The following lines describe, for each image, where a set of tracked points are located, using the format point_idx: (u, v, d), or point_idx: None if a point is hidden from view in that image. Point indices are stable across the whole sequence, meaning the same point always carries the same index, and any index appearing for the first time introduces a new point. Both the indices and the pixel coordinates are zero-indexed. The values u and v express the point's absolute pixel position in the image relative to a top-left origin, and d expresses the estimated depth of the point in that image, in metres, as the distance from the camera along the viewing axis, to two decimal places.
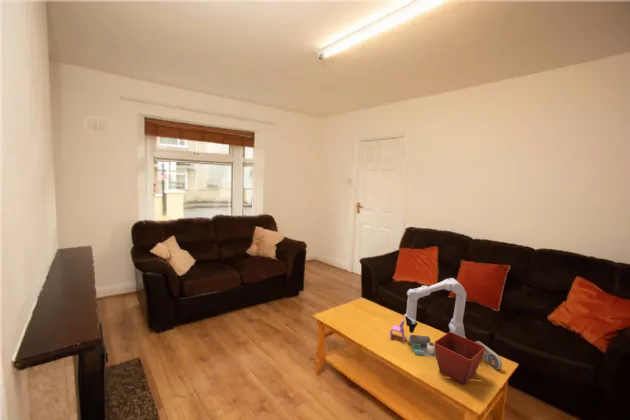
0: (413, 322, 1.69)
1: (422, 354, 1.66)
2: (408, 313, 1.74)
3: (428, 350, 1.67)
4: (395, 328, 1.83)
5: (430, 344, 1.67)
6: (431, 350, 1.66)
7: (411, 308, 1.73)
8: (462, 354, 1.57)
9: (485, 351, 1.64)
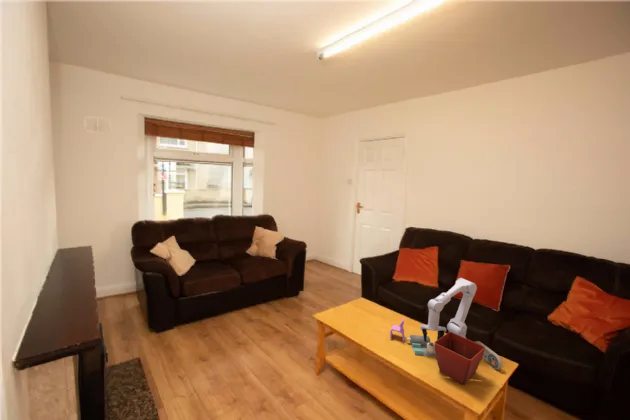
0: (420, 327, 1.68)
1: (422, 354, 1.66)
2: None
3: (428, 350, 1.67)
4: (395, 328, 1.83)
5: (430, 344, 1.67)
6: (431, 350, 1.66)
7: (436, 320, 1.64)
8: (462, 354, 1.57)
9: (485, 351, 1.64)
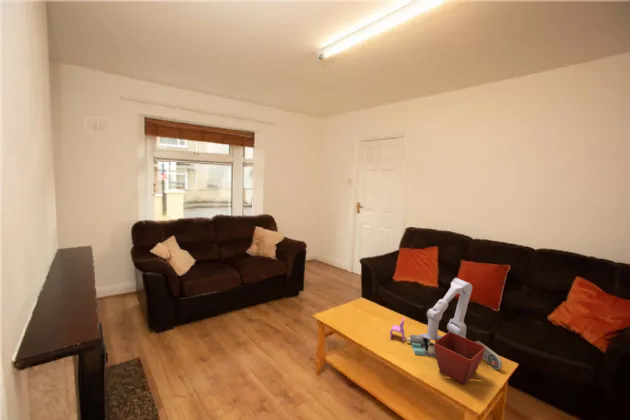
0: (419, 336, 1.69)
1: (422, 354, 1.66)
2: None
3: (428, 350, 1.67)
4: (395, 328, 1.83)
5: (430, 344, 1.67)
6: (431, 350, 1.66)
7: (435, 329, 1.64)
8: (462, 354, 1.57)
9: (485, 351, 1.64)
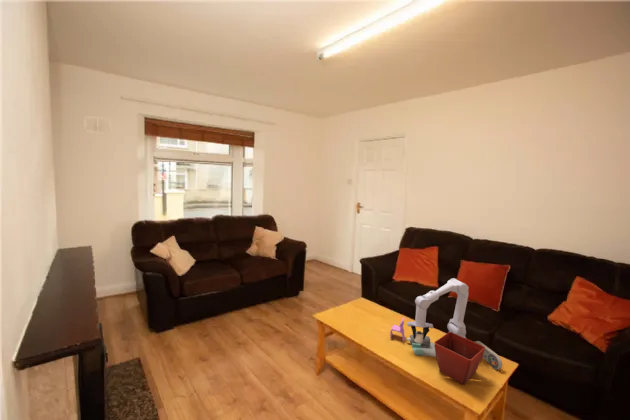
0: (407, 323, 1.69)
1: (422, 354, 1.66)
2: None
3: (416, 338, 1.68)
4: (395, 328, 1.83)
5: (418, 332, 1.68)
6: (419, 338, 1.66)
7: (422, 316, 1.64)
8: (462, 354, 1.57)
9: (485, 351, 1.64)
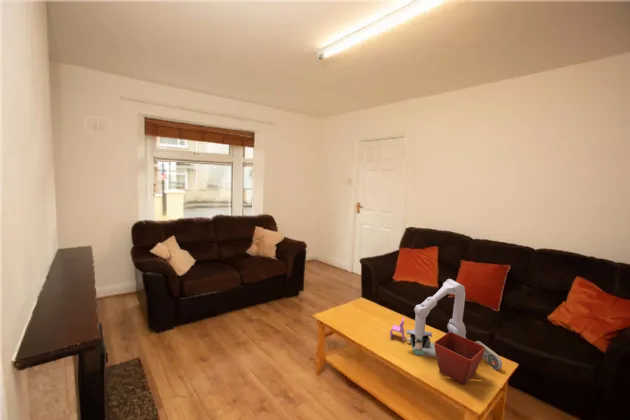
0: (406, 332, 1.69)
1: (422, 354, 1.66)
2: None
3: (415, 347, 1.68)
4: (395, 328, 1.83)
5: (417, 341, 1.68)
6: (418, 347, 1.67)
7: (421, 325, 1.65)
8: (462, 354, 1.57)
9: (485, 351, 1.64)
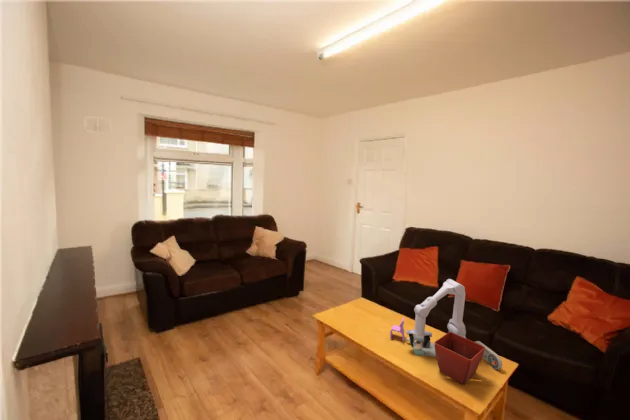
0: (406, 332, 1.69)
1: (422, 354, 1.66)
2: None
3: (415, 348, 1.68)
4: (395, 328, 1.83)
5: (417, 342, 1.68)
6: (418, 348, 1.67)
7: (421, 325, 1.65)
8: (462, 354, 1.57)
9: (485, 351, 1.64)
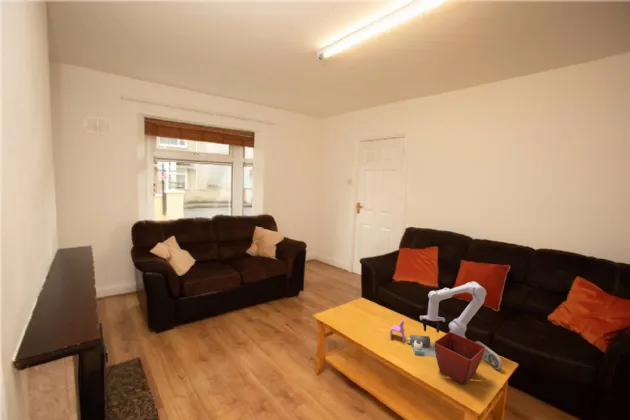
0: (420, 317, 1.76)
1: (422, 354, 1.66)
2: None
3: (415, 348, 1.68)
4: (395, 328, 1.83)
5: (417, 342, 1.68)
6: (418, 348, 1.67)
7: (433, 310, 1.71)
8: (462, 354, 1.57)
9: (485, 351, 1.64)
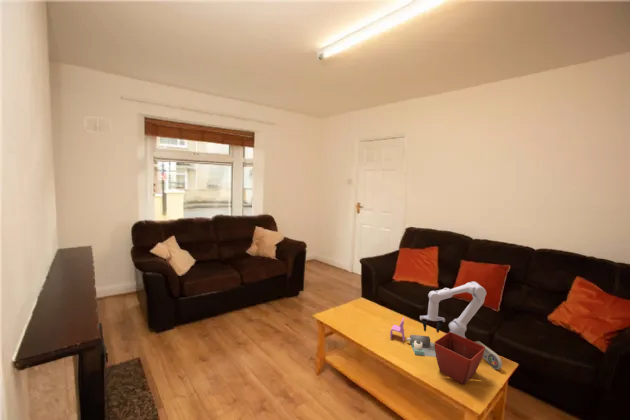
0: (420, 317, 1.76)
1: (422, 354, 1.66)
2: None
3: (415, 348, 1.68)
4: (395, 328, 1.83)
5: (417, 342, 1.68)
6: (418, 348, 1.67)
7: (433, 310, 1.71)
8: (462, 354, 1.57)
9: (485, 351, 1.64)
